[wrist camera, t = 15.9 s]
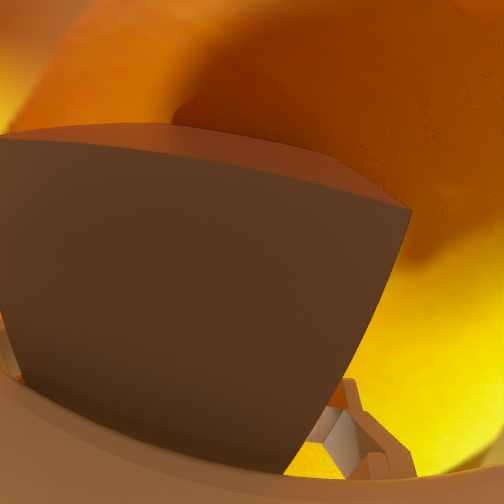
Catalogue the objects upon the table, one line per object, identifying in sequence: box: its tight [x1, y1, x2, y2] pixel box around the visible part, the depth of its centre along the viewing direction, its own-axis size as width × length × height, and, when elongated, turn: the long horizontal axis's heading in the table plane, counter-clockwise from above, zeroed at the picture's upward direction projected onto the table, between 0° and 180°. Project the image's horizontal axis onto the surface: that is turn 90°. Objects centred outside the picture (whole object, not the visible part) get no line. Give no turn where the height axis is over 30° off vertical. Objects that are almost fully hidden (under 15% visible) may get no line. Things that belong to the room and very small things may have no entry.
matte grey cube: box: [0, 123, 413, 475], centre depth 9 cm, size 7×7×9 cm
